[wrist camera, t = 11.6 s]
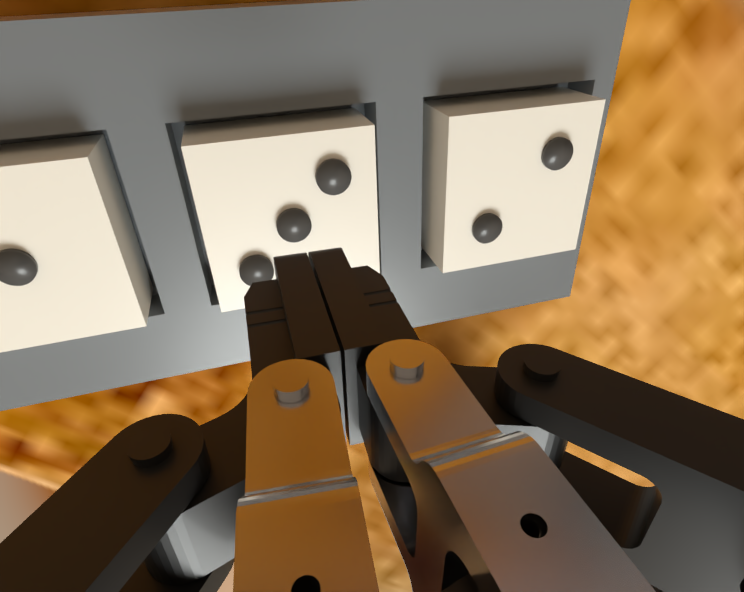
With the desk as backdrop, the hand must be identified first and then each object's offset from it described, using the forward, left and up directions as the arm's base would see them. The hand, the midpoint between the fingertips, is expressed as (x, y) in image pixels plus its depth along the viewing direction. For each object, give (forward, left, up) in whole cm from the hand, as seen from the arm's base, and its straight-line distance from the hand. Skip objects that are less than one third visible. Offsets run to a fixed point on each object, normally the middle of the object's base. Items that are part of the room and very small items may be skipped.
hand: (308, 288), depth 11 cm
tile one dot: (+1, -8, -8) cm, 11 cm away
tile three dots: (+1, 0, -8) cm, 8 cm away
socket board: (+1, 0, -9) cm, 9 cm away
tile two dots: (+1, +8, -8) cm, 11 cm away
